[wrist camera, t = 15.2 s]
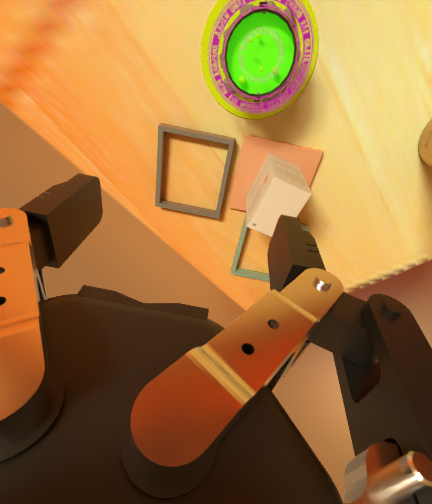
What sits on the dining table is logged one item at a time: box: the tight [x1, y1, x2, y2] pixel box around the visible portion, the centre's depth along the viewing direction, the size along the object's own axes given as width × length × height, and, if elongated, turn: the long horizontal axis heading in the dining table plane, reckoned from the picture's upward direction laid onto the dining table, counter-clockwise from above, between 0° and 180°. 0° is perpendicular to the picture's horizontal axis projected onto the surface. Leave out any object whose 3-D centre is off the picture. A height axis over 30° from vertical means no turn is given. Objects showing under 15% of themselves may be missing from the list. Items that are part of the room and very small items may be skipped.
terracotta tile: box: [229, 135, 323, 217], centre depth 44 cm, size 12×12×1 cm
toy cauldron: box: [201, 0, 319, 119], centre depth 31 cm, size 15×15×11 cm
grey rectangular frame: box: [155, 123, 235, 219], centre depth 45 cm, size 11×13×2 cm
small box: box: [246, 153, 312, 237], centre depth 40 cm, size 8×6×10 cm
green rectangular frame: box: [231, 216, 310, 282], centre depth 52 cm, size 11×13×2 cm
